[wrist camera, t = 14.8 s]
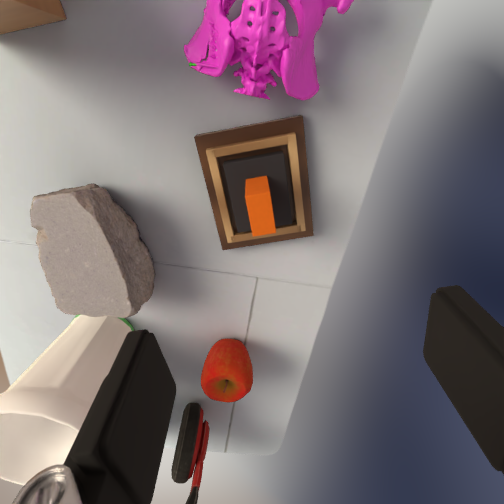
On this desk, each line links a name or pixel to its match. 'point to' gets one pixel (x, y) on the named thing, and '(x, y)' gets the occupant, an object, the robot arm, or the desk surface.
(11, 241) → the desk surface
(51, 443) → the cup
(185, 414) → the headphones
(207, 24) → the pelvis
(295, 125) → the backing board
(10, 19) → the wooden block
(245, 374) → the apple
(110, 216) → the decorative stone
